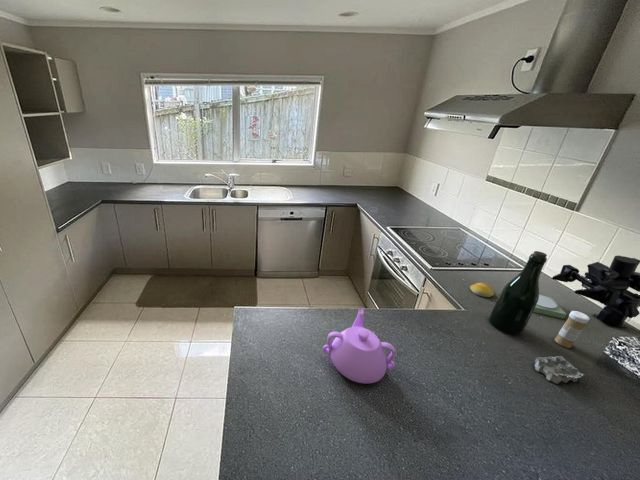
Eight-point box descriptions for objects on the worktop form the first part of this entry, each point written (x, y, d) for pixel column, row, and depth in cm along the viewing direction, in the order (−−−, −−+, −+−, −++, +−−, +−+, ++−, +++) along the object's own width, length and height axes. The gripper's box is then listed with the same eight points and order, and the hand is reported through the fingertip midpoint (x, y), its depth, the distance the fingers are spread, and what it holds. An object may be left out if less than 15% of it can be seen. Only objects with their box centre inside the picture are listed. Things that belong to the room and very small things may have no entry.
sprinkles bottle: (553, 336, 106) (570, 308, 101) (571, 343, 103) (589, 314, 98) (554, 343, 103) (571, 314, 97) (572, 350, 100) (591, 321, 95)
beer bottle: (500, 315, 116) (534, 244, 103) (528, 333, 107) (569, 258, 94) (481, 319, 114) (513, 247, 101) (508, 338, 104) (548, 261, 91)
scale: (549, 302, 126) (552, 295, 124) (563, 318, 115) (567, 312, 114) (510, 293, 131) (513, 287, 129) (521, 309, 120) (524, 302, 119)
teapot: (385, 342, 100) (394, 312, 95) (396, 398, 81) (408, 364, 75) (323, 329, 105) (328, 299, 100) (319, 378, 86) (325, 345, 81)
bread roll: (466, 289, 132) (468, 282, 131) (477, 285, 136) (480, 278, 134) (485, 300, 125) (488, 292, 124) (496, 295, 129) (499, 288, 127)
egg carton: (551, 384, 87) (557, 375, 85) (528, 364, 94) (533, 355, 92) (582, 383, 88) (589, 374, 86) (557, 362, 95) (562, 354, 93)
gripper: (589, 252, 113) (548, 254, 115) (646, 278, 96) (596, 281, 98) (580, 275, 118) (540, 277, 119) (632, 304, 100) (585, 306, 102)
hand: (563, 284), depth 109 cm, fingers open, 9 cm apart
